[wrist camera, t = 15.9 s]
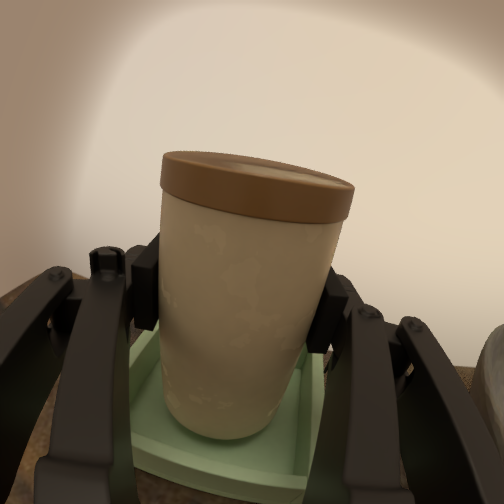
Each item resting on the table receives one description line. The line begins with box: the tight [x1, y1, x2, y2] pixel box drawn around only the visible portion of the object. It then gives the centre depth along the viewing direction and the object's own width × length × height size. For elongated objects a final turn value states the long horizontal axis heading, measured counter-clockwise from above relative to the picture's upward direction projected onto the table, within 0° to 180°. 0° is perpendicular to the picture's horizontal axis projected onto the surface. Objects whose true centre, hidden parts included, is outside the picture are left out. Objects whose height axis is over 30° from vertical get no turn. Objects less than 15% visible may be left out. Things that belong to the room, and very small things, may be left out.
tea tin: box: [158, 151, 355, 440], centre depth 11 cm, size 6×6×11 cm
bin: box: [129, 319, 324, 504], centre depth 13 cm, size 10×10×3 cm
